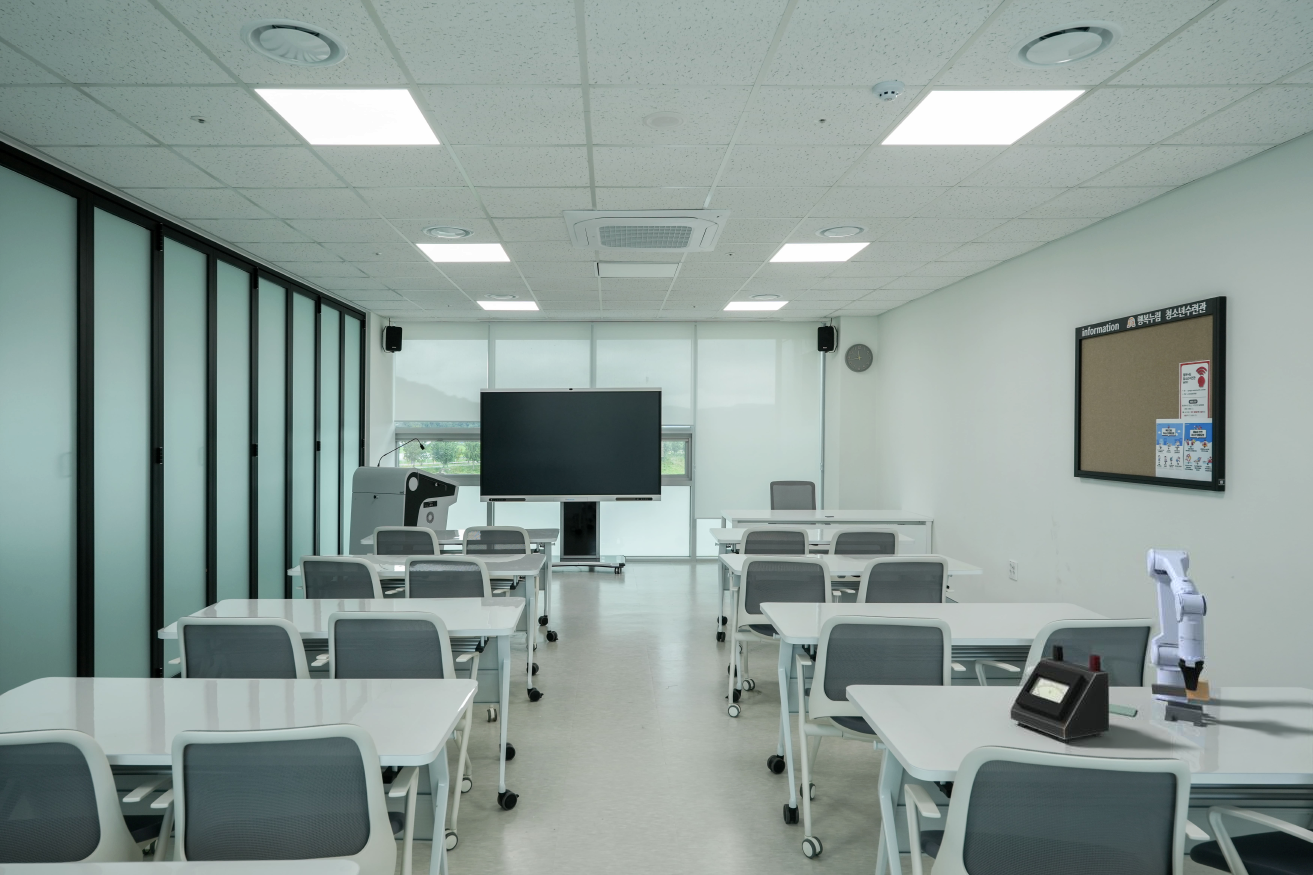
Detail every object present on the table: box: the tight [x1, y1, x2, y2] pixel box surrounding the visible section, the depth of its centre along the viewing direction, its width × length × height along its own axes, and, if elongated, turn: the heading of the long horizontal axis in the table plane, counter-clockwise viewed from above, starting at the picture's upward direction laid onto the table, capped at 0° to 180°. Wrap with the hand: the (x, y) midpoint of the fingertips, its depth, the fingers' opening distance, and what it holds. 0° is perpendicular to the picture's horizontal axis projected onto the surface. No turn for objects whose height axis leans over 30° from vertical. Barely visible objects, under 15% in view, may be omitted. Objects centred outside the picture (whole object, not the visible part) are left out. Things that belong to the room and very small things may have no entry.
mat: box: [1109, 703, 1137, 718], centre depth 213 cm, size 8×8×1 cm
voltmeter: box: [1009, 644, 1110, 743], centre depth 196 cm, size 16×16×20 cm
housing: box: [1164, 699, 1204, 728], centre depth 209 cm, size 15×8×3 cm, turn 142°
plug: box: [1151, 678, 1211, 701], centre depth 209 cm, size 4×13×4 cm, turn 53°
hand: (1191, 688), depth 207 cm, fingers closed on plug, 4 cm apart
